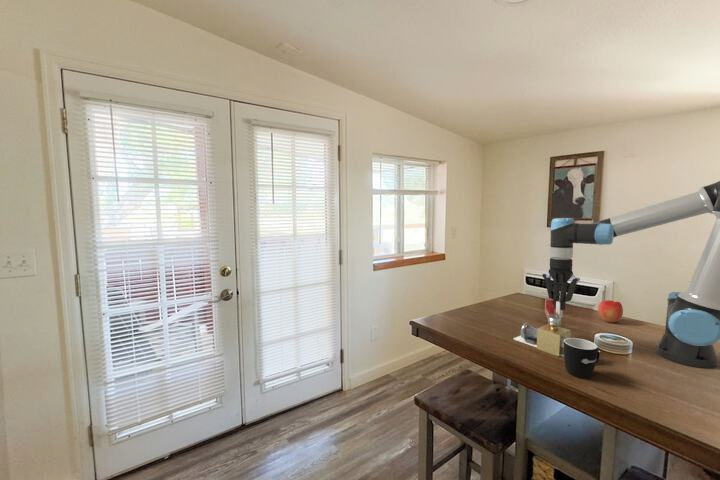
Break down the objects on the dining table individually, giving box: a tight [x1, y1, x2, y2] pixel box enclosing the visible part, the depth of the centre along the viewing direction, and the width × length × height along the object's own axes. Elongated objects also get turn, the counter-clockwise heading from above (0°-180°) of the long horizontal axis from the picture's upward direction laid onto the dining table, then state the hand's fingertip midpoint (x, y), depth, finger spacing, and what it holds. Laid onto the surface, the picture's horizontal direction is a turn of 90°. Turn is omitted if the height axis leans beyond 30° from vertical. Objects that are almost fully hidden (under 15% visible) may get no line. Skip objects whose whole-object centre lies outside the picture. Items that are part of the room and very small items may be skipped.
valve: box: [519, 322, 572, 357], centre depth 124 cm, size 22×8×10 cm, turn 34°
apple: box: [597, 299, 624, 323], centre depth 153 cm, size 10×10×10 cm
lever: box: [544, 297, 562, 327], centre depth 129 cm, size 17×4×6 cm, turn 157°
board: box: [513, 334, 601, 358], centre depth 128 cm, size 25×15×1 cm, turn 34°
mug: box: [563, 337, 601, 379], centre depth 107 cm, size 12×9×10 cm
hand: (559, 317), depth 130 cm, fingers closed
